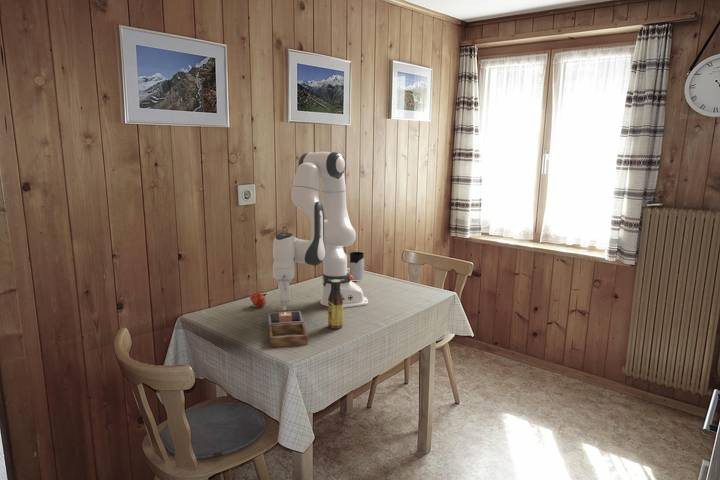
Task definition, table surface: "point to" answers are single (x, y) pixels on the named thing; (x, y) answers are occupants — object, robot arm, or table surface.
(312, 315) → the table surface
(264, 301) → the pomegranate
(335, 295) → the sauce bottle
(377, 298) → the table surface
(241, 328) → the table surface
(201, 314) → the table surface
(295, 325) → the walnut box
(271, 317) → the grey box
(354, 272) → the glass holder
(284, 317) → the letter cube
